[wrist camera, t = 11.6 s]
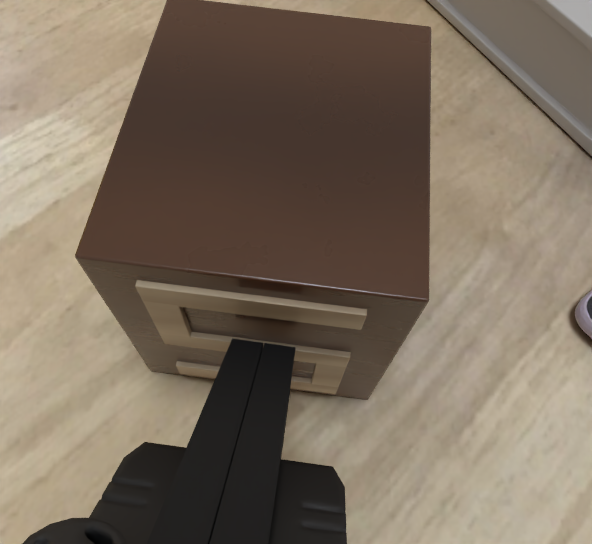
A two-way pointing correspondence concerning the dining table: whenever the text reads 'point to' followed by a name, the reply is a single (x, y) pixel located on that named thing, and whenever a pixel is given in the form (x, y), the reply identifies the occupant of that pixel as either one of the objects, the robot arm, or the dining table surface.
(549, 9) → the book
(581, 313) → the smartphone
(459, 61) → the dining table surface
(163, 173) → the brown drawer cabinet
